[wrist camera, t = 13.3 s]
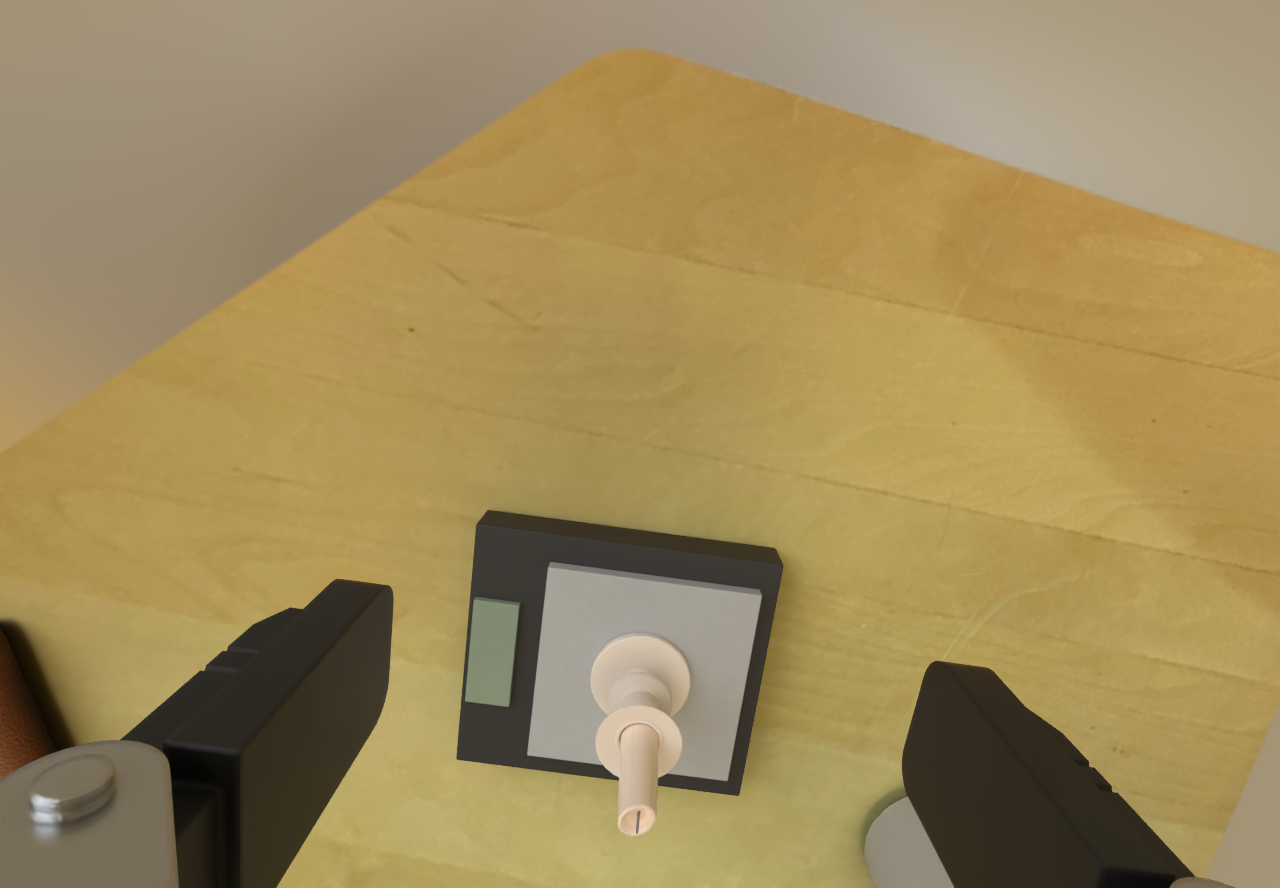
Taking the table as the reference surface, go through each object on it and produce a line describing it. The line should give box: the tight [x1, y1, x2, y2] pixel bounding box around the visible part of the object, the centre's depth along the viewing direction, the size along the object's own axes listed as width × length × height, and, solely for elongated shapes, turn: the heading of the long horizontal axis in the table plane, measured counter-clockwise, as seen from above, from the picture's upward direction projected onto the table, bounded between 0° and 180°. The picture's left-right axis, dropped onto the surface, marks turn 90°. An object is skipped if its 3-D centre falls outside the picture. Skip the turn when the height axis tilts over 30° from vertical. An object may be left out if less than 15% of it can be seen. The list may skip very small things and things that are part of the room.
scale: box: [457, 510, 783, 796], centre depth 36 cm, size 16×14×3 cm
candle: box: [590, 633, 690, 836], centre depth 29 cm, size 5×5×10 cm
